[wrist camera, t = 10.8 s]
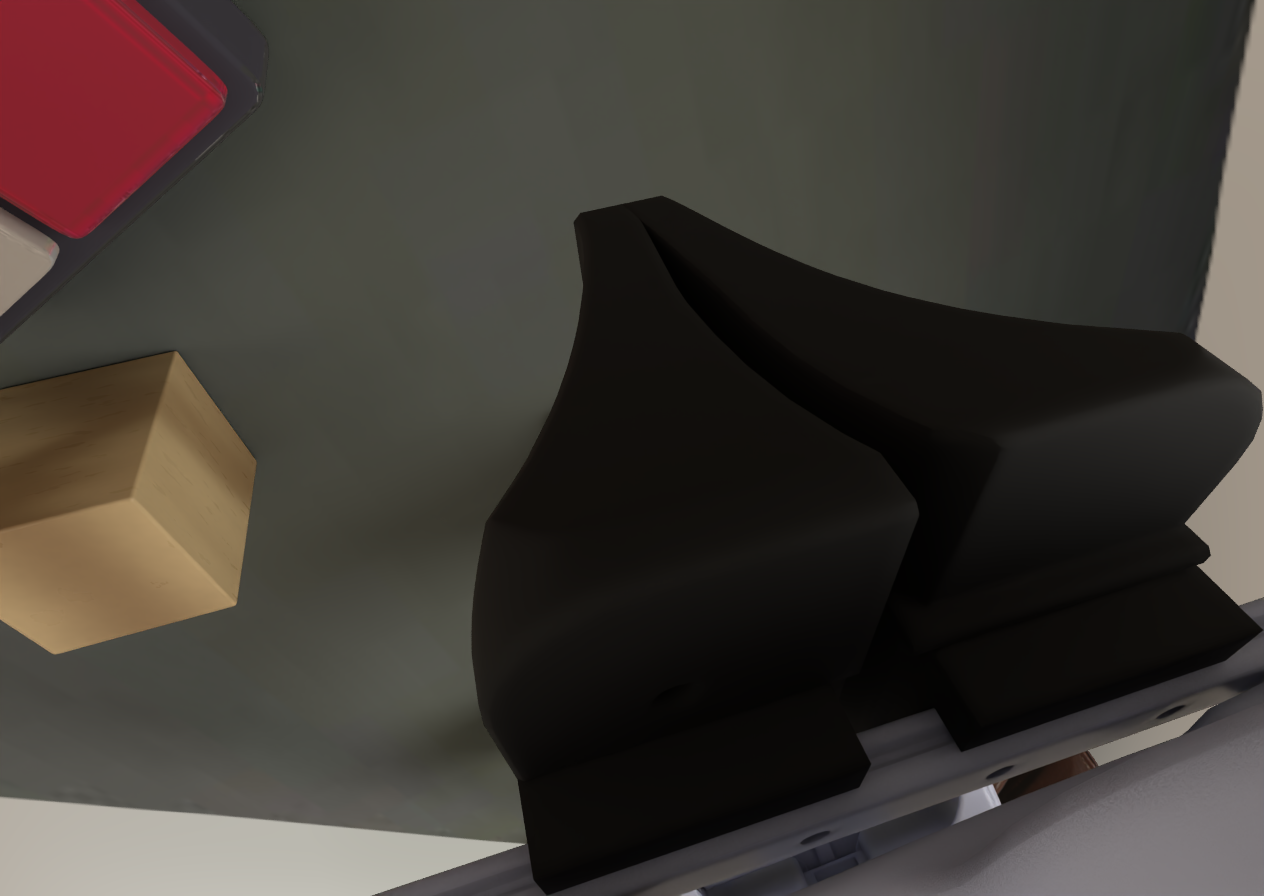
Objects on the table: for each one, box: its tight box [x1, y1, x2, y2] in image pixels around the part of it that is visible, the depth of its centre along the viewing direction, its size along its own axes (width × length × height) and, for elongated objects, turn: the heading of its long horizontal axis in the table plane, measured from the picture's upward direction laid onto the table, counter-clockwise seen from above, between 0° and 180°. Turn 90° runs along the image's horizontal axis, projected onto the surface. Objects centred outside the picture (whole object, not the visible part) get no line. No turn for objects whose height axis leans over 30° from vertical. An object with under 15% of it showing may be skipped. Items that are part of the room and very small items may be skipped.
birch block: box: [0, 351, 257, 654], centre depth 20 cm, size 5×5×6 cm
